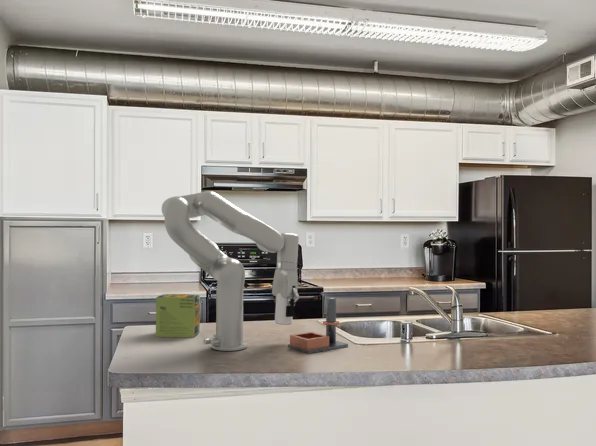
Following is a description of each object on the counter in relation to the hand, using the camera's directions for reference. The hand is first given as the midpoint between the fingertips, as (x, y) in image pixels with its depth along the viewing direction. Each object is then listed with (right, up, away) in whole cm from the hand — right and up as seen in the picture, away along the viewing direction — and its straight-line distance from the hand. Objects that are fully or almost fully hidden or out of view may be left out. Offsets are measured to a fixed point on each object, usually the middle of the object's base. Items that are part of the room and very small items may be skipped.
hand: (283, 314), depth 204 cm
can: (0, -3, 0) cm, 3 cm away
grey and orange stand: (+12, -11, -6) cm, 17 cm away
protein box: (-42, -10, +14) cm, 46 cm away
